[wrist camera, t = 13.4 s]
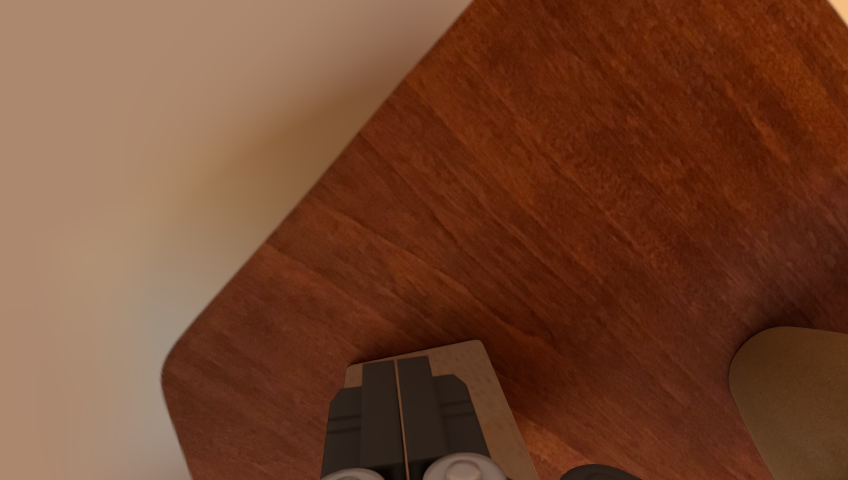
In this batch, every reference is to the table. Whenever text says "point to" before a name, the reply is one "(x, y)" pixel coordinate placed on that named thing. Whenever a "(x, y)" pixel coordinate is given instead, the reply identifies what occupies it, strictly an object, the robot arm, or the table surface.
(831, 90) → the table surface
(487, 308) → the table surface
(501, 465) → the wooden block
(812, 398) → the plant pot
